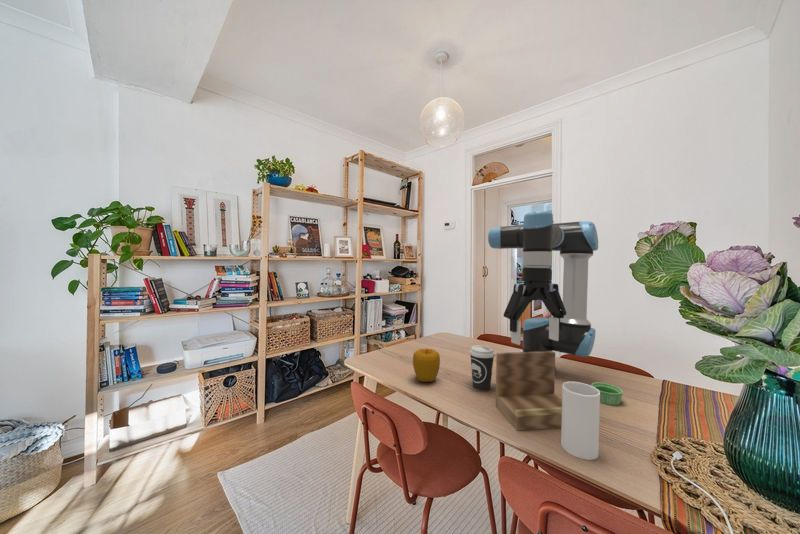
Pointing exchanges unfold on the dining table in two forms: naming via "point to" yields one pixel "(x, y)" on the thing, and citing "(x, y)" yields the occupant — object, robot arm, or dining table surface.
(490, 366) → the coffee cup
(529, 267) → the robot arm
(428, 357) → the apple
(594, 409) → the cup
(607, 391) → the ramekin
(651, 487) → the dining table surface
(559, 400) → the shelf
